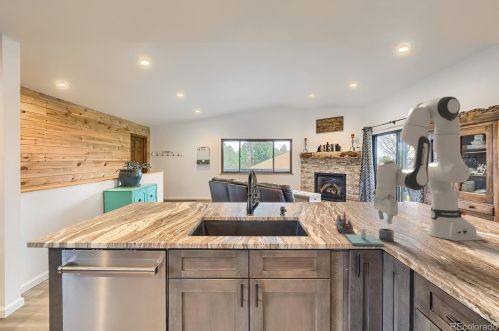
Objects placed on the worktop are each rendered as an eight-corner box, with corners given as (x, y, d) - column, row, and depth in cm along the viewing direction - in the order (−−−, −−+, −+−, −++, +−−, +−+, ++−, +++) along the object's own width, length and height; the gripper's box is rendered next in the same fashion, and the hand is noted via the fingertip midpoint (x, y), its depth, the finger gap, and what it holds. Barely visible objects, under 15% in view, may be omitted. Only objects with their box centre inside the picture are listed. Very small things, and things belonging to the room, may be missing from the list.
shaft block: (373, 237, 134) (372, 225, 134) (383, 246, 120) (383, 233, 120) (345, 236, 136) (345, 225, 136) (352, 245, 122) (352, 232, 122)
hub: (390, 238, 132) (390, 228, 132) (395, 242, 126) (395, 231, 126) (377, 238, 133) (377, 228, 133) (382, 241, 127) (382, 231, 127)
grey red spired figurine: (359, 229, 141) (344, 211, 142) (342, 240, 143) (328, 223, 144) (355, 224, 152) (342, 208, 153) (340, 235, 154) (327, 218, 155)
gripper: (402, 196, 119) (401, 226, 119) (384, 191, 139) (383, 217, 139) (387, 196, 119) (386, 226, 119) (371, 191, 140) (371, 216, 140)
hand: (384, 221), depth 129 cm, fingers open, 8 cm apart
